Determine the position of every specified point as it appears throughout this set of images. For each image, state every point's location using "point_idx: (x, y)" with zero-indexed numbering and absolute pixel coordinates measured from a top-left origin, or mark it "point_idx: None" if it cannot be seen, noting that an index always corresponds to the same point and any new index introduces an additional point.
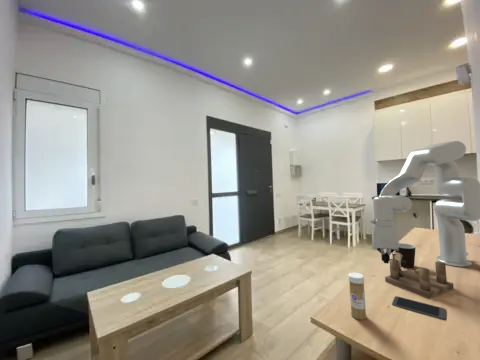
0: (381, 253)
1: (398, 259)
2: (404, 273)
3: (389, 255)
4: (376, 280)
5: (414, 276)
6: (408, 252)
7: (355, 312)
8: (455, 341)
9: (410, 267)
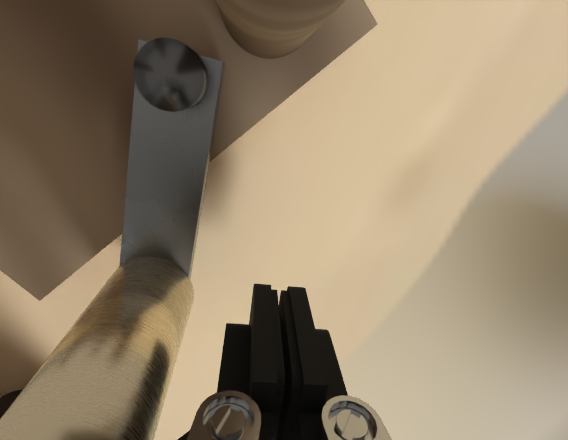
0: (376, 421)
1: (86, 332)
2: (111, 172)
3: (219, 395)
4: (435, 61)
5: (12, 85)
6: None
7: None
8: None
9: (14, 397)
